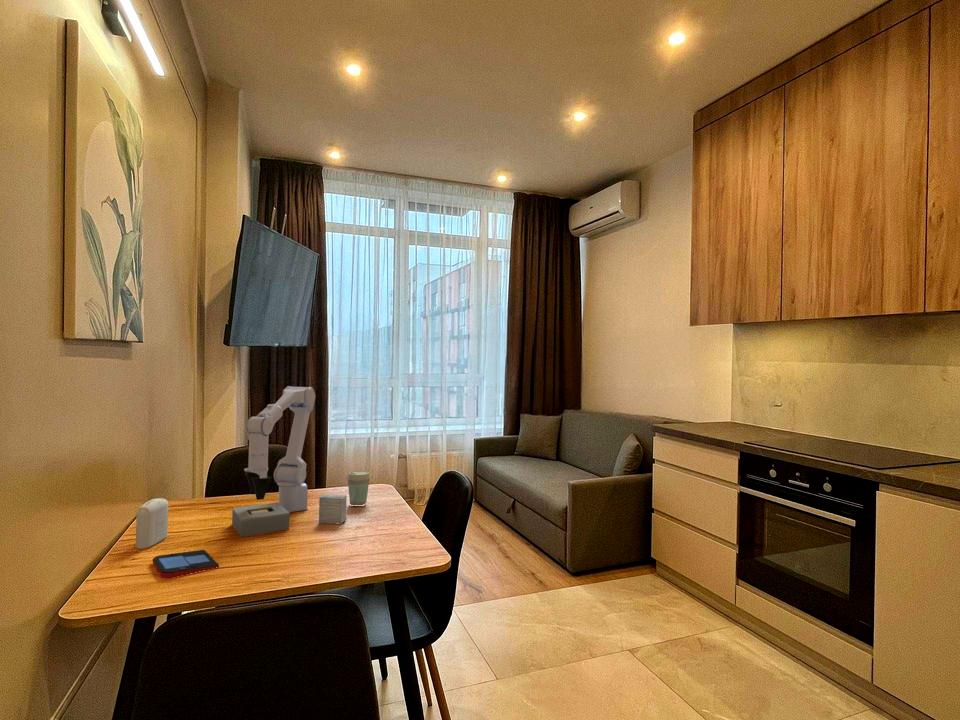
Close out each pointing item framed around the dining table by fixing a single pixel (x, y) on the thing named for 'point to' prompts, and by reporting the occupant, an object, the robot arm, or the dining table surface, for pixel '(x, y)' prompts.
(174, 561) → the game console
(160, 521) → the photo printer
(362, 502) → the coffee cup
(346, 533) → the dining table surface
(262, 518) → the money box
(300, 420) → the robot arm
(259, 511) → the wooden block
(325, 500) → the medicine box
